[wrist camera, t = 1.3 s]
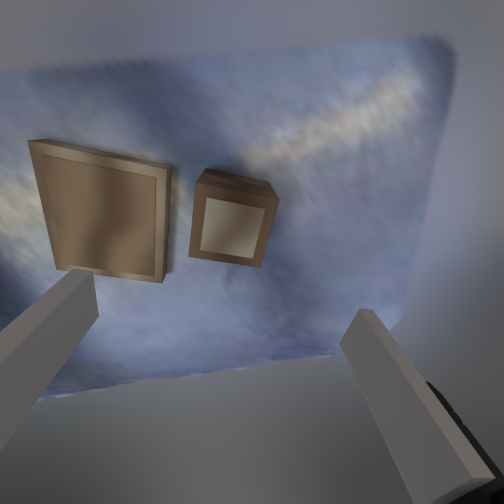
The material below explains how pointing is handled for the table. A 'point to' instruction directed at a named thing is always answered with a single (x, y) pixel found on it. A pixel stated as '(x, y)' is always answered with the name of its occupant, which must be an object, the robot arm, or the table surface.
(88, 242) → the maple pad
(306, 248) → the table surface
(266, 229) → the walnut block
